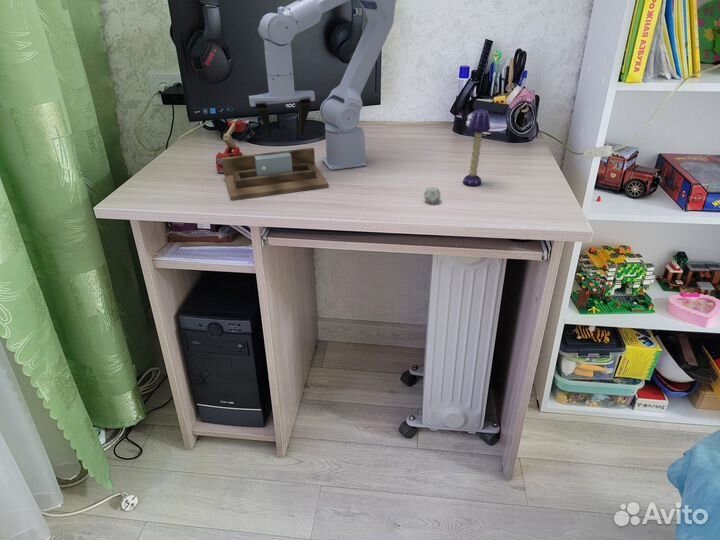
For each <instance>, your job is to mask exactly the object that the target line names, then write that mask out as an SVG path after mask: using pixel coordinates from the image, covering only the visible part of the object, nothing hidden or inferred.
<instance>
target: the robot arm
mask: <svg viewBox="0 0 720 540" xmlns="http://www.w3.org/2000/svg"><path fill="white" fill-rule="evenodd" d="M349 1H350V0H295V1H294V2H291V3H290V4H288V5H286V6H281V5H280V6H279V7H277V13H275V12H269V13H266V14H265V15H263V16H262V17H261V18H262V19H260V22H259V27H257V31H258V34H259V36H260V37H261V38H262V40H263V44H264V57H265V66H266V67H265V68H266V77H267V86H268V92H266V93H260V94H254V95H248V100H249V101H248V102H249V105H250V107H254V108H255V109H256V111H257V114H258V115H259V117H260V119H261V121H262V123H263V125H264V129H265V132H266V136H267V138H272V132H271V126H270V111H269V108H268V105H274V104H283V103H284V104H286V103H296V108H297V114H298V132H299V133H300V135H304V134H305V127H306V122H307V119H308V115H309V113H310V110H311V108H312V102H314V101H316V96H315V91H313V90H311V89H310V90H295V81H294V79H295V78H294V68H293V67H294V66H293V56H292V55H293V53H292V44H291V42H292V41H293V40H294V38H295V36H296V35H298V34H299V33H301V32H304V31H305V30H307V29H309V28H311V27H313V26H315V25H316V24H318V23H319V22H320V21H321V18H322V15H323V13H326V12H328V11H330V10H332V9H334V8H336V7H338V6H341V5H343V4H345V3H348V2H349ZM357 1H358V3H359V4H360V6H361V7H362V9H363V11H364V12H365V14H366V19H367V24H366V26H365V28H364V30H363V32H362V35H361V36H360V39H359V41H358V43H357V45H356V48H355V50H354V52H353V54H352V56H351V59H350V61H349V62H348V65H347V67H346V70H345V72H344V74H343V77H342V78H341V81H340V84H339V85H338V86H336V87H335V88H333V89H332V90H331V91H330V94H329V95H328V96H327V98H326V99H324V100H323V101H322V102H321V105H320V106H319V107H320V108H319V115H320V118H321V119H322V121H323V122H324V129H325V131H324V132H325V133H324V134H325V148H326V150H325V151H326V154H325V155H326V157H324V158H322V162H323V163H324V164H325V166H326V167H327V168H328V170H329V171H335V170H342V169H351V168H357V167H365V166H367V163H366V136H365V131H364V129H363V128H362V126H358V124H359V122H360V115H361V114H360V113H361V110H362V107H363V106H364V105H363V100H362V97H361V94H362V93H363V91H364V88H365V86H366V84H367V82H368V79H369V77H370V75H371V73H372V72H373V71H372V70H373V69H374V66H375V64H376V62H377V60H378V57H379V56H380V53H381V51H382V49H383V46H384V44H385V43H386V40H387V38H388V35H389V34H390V33H391V32H390V31H391V30H392V28H393V25H394V23H395V22H394V21H395V12H396V11H395V10H396V2H397V0H357Z"/></svg>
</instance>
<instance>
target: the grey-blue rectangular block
mask: <svg viewBox="0 0 720 540" xmlns="http://www.w3.org/2000/svg"><path fill="white" fill-rule="evenodd" d="M255 164H256V173H257V176H265V175H273V174H281V173H289V172H293V170H292V158H291V154H290V153H289V152H287V153H279V154H270V155H261V156H255Z"/></svg>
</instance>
